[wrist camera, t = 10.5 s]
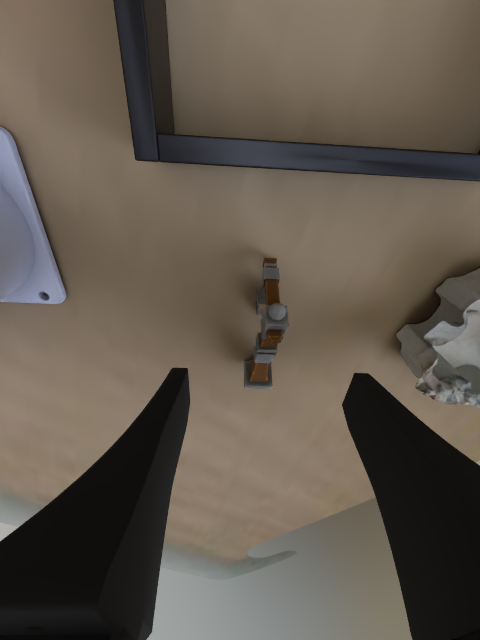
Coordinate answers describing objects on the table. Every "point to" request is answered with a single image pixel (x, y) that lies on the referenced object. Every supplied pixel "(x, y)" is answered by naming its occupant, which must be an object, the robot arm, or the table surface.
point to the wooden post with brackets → (266, 329)
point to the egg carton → (448, 344)
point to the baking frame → (164, 146)
